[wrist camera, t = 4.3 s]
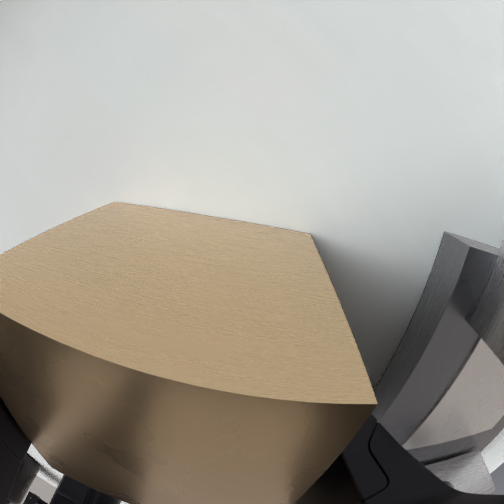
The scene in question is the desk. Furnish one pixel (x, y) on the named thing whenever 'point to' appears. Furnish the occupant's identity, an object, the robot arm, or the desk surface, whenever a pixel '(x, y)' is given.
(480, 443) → the press bed
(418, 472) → the robot arm
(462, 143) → the desk surface
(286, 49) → the desk surface
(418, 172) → the desk surface
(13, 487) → the supplement bottle
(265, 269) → the wooden cube
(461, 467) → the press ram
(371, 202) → the desk surface
